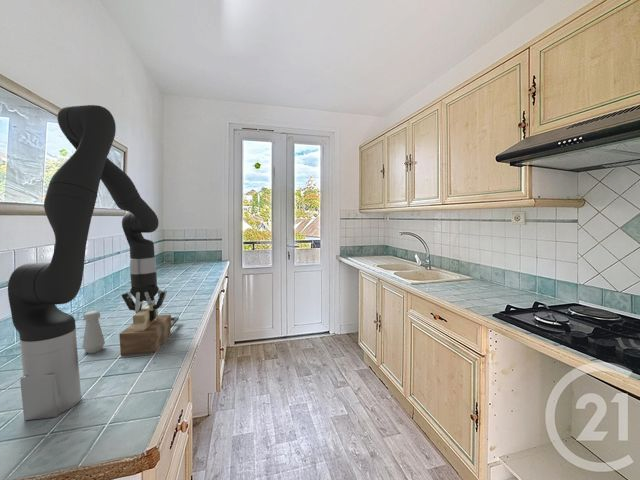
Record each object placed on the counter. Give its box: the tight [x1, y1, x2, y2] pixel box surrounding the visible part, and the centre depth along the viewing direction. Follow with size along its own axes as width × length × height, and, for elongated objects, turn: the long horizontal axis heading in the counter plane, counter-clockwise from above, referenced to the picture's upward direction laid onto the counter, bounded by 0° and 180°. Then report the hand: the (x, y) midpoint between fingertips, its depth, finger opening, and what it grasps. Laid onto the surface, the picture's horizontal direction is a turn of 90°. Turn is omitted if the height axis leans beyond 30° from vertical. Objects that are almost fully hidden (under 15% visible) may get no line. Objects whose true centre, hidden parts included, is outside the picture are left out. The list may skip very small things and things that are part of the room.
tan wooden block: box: [118, 304, 180, 338], centre depth 104 cm, size 25×10×10 cm, turn 10°
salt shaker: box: [82, 310, 106, 354], centre depth 95 cm, size 6×6×13 cm
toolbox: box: [119, 319, 172, 356], centre depth 100 cm, size 15×10×6 cm, turn 10°
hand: (146, 320), depth 99 cm, fingers closed on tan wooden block, 3 cm apart
